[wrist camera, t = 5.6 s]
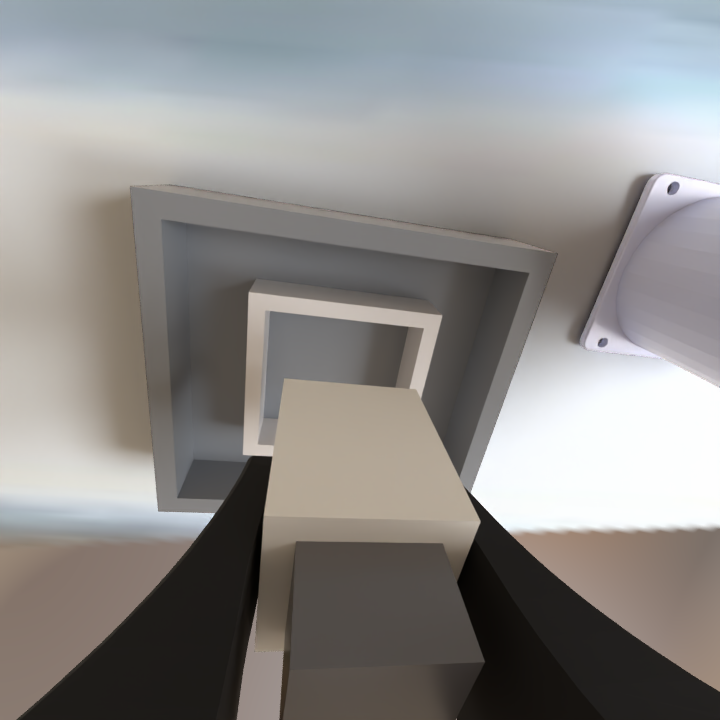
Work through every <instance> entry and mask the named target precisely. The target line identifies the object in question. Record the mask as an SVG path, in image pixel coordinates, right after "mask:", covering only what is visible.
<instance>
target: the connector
mask: <svg viewBox="0 0 720 720" xmlns="http://www.w3.org/2000/svg"><path fill="white" fill-rule="evenodd" d="M480 522H481V521H480V519H479V517H478V515H477V513H476V511H475V509H474V507H473V505H472V503H471V501H470V499H469V497H468V494H467V492H466V490H465V488H464V486H463V484H462V482H461V480H460V478H459V476H458V474H457V472H456V470H455V468H454V466H453V464H452V462H451V460H450V458H449V456H448V453H447V451H446V449H445V447H444V445H443V443H442V441H441V439H440V437H439V435H438V433H437V431H436V429H435V427H434V425H433V423H432V421H431V419H430V417H429V414H428V412H427V410H426V408H425V406H424V404H423V402H422V400H421V398H420V396H419V394H418V392H417V390H416V389H405V388H393V387H381V386H369V385H357V384H345V383H333V382H321V381H309V380H298V379H286V378H284V383H283V390H282V396H281V403H280V410H279V417H278V423H277V430H276V437H275V443H274V450H273V457H272V464H271V470H270V477H269V484H268V490H267V497H266V504H265V511H264V519H263V534H262V548H261V563H260V578H259V592H258V607H257V622H256V637H255V652H266V651H284V655H283V656H284V657H283V671H282V687H281V703H280V719H279V720H456V718H457V716H458V714H459V712H460V710H461V708H462V706H463V704H464V702H465V700H466V698H467V697H468V695H469V693H470V691H471V689H472V687H473V685H474V683H475V681H476V679H477V677H478V675H479V673H480V671H481V669H482V667H483V665H484V663H485V661H484V658H483V655H482V652H481V650H480V647H479V644H478V641H477V638H476V635H475V633H474V630H473V627H472V624H471V621H470V619H469V616H468V613H467V610H466V607H465V604H464V602H463V599H462V596H461V593H460V590H459V587H458V585H457V580H458V578H459V575H460V573H461V570H462V568H463V565H464V563H465V560H466V557H467V555H468V552H469V550H470V547H471V545H472V542H473V540H474V537H475V535H476V532H477V530H478V527H479V524H480Z"/></svg>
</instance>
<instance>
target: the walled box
mask: <svg viewBox="0 0 720 720" xmlns="http://www.w3.org/2000/svg"><path fill="white" fill-rule="evenodd" d="M130 191H131V202H132V214H133V225H134V237H135V249H136V260H137V272H138V283H139V295H140V306H141V318H142V329H143V341H144V352H145V364H146V376H147V387H148V399H149V410H150V422H151V433H152V445H153V456H154V468H155V479H156V491H157V503H158V511H161V512H197V513H216V512H217V510H218V509H219V507H220V506H221V505H222V503H223V502H224V500H225V499H226V497H227V496H228V494H229V493H230V491H231V489H232V488H233V486H234V485H235V483H236V481H237V480H238V478H239V476H240V474H241V473H242V471H243V469H244V467H245V465H246V463H247V460H248V459H249V458H250V457H251V456H253V455H255V456H273V450H274V443H275V437H276V430H277V423H278V417H279V410H280V403H281V396H282V390H283V383H284V378H286V379H298V380H309V381H321V382H333V383H345V384H357V385H369V386H381V387H393V388H405V389H416V390H417V392H418V394H419V396H420V398H421V400H422V402H423V404H424V406H425V408H426V410H427V412H428V414H429V417H430V419H431V421H432V423H433V425H434V427H435V429H436V431H437V433H438V435H439V437H440V439H441V441H442V443H443V445H444V447H445V449H446V451H447V453H448V456H449V458H450V460H451V462H452V464H453V466H454V468H455V470H456V472H457V474H458V476H459V478H460V480H461V482H462V484H463V486H464V487H465V488H466V489H467V490H468V491H469V492H470V493H471V490H472V487H473V484H474V482H475V479H476V476H477V473H478V471H479V468H480V465H481V462H482V460H483V457H484V454H485V451H486V449H487V446H488V443H489V440H490V438H491V435H492V432H493V429H494V427H495V424H496V421H497V419H498V416H499V413H500V410H501V408H502V405H503V402H504V399H505V397H506V394H507V391H508V388H509V386H510V383H511V380H512V377H513V375H514V372H515V369H516V366H517V364H518V361H519V358H520V355H521V353H522V350H523V347H524V345H525V342H526V339H527V336H528V334H529V331H530V328H531V325H532V323H533V320H534V317H535V314H536V312H537V309H538V306H539V303H540V301H541V298H542V295H543V292H544V290H545V287H546V284H547V282H548V279H549V276H550V273H551V271H552V268H553V265H554V262H555V260H556V257H557V254H558V253H554V252H551V251H548V250H545V249H541V248H538V247H535V246H532V245H528V244H525V243H522V242H518V241H515V240H512V239H506V238H500V237H494V236H487V235H481V234H475V233H469V232H463V231H456V230H450V229H444V228H438V227H431V226H425V225H419V224H413V223H406V222H400V221H394V220H388V219H382V218H375V217H369V216H363V215H357V214H350V213H344V212H338V211H332V210H326V209H319V208H313V207H307V206H301V205H294V204H288V203H282V202H276V201H269V200H263V199H257V198H251V197H245V196H238V195H232V194H226V193H220V192H213V191H207V190H201V189H195V188H189V187H182V186H176V185H149V186H130Z"/></svg>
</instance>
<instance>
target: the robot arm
mask: <svg viewBox="0 0 720 720" xmlns="http://www.w3.org/2000/svg"><path fill="white" fill-rule="evenodd" d="M670 184H671V185H672V186H671V190H670V191H669V193H667V189H668V186H669V185H670ZM600 339H602V341H601V342H600V343H599V344H598V342H599V340H600ZM580 345H581V346H582V347H583V348H585V349H586V350H589V351H598V352H607V353H616V354H625V355H634V356H643V357H652V358H660V359H665V360H667V361H669V362H671V363H673V364H675V365H677V366H679V367H680V368H682V369H684V370H686V371H688V372H690V373H692V374H694V375H696V376H698V377H700V378H702V379H704V380H706V381H708V382H710V383H712V384H713V385H715V386H717V387H719V388H720V184H718V183H713V182H708V181H704V180H699V179H694V178H689V177H684V176H680V175H675V174H670V173H658V174H655V175H653V176H652V177H651V178H650V179H649V180H648V182H647V184H646V186H645V188H644V190H643V193H642V195H641V197H640V200H639V202H638V204H637V207H636V209H635V211H634V214H633V216H632V218H631V221H630V223H629V226H628V228H627V230H626V233H625V235H624V237H623V240H622V242H621V244H620V247H619V249H618V251H617V254H616V256H615V258H614V261H613V263H612V265H611V268H610V270H609V272H608V275H607V277H606V279H605V282H604V284H603V286H602V289H601V291H600V293H599V296H598V298H597V300H596V303H595V305H594V307H593V310H592V312H591V314H590V317H589V319H588V321H587V324H586V326H585V328H584V331H583V333H582V335H581V338H580ZM272 457H273V456H255V455H253V456H251V457H250V458H249V459H248V460H247V463H246V465H245V467H244V469H243V471H242V473H241V474H240V476H239V478H238V480H237V481H236V483H235V485H234V486H233V488H232V489H231V491H230V493H229V494H228V496H227V497H226V499H225V500H224V502H223V503H222V505H221V506H220V507H219V509H218V510H217V512H216V513H215V515H214V516H213V518H212V519H211V520H210V522H209V523H208V524H207V526H206V527H205V528H204V530H203V531H202V532H201V533H200V535H199V536H198V537H197V539H196V540H195V541H194V543H193V544H192V545H191V546H190V548H189V549H188V550H187V552H186V553H185V554H184V555H183V556H182V558H181V559H180V560H179V561H178V562H177V563H176V565H175V566H174V567H173V568H172V569H171V570H170V572H169V573H168V574H167V575H166V576H165V577H164V578H163V579H162V581H161V582H160V583H159V584H158V585H157V586H156V588H155V589H154V590H153V591H152V592H151V593H150V594H149V595H148V596H147V597H146V598H145V599H144V600H143V601H142V602H141V603H140V604H139V605H138V606H137V607H136V608H135V609H134V611H133V612H132V613H131V614H130V615H129V616H128V617H127V618H126V619H125V620H124V621H123V622H122V623H121V624H120V625H119V626H118V627H117V628H116V629H115V630H114V631H113V632H112V633H111V634H110V635H109V636H108V637H107V638H106V639H105V640H104V641H103V642H102V643H101V644H100V645H99V646H97V648H95V649H94V650H93V651H92V652H91V653H90V654H89V655H88V656H87V657H86V658H85V659H84V660H82V661H81V662H80V663H79V664H78V665H77V666H76V667H75V668H74V669H73V670H71V671H70V672H69V673H68V674H67V675H66V676H65V677H64V678H63V679H62V680H61V681H60V682H59V683H57V684H56V685H55V686H54V687H53V688H52V689H51V690H50V691H49V692H48V693H47V694H45V695H44V696H43V697H42V698H41V699H40V700H39V701H37V702H36V703H35V704H34V705H33V706H32V707H31V708H30V709H28V710H27V711H26V712H25V713H24V714H23V715H21V716H20V717H19V718H18V719H17V720H236V719H237V712H238V705H239V697H240V690H241V683H242V675H243V668H244V663H245V657H246V652H247V646H248V641H249V636H250V632H251V628H252V623H253V618H254V613H255V609H256V604H257V599H258V592H259V578H260V563H261V548H262V534H263V519H264V511H265V504H266V497H267V490H268V484H269V477H270V470H271V464H272ZM464 488H465V487H464ZM465 490H466V492H467V494H468V497H469V499H470V501H471V503H472V505H473V507H474V509H475V511H476V513H477V515H478V517H479V519H480V521H481V522H480V524H479V527H478V530H477V532H476V535H475V537H474V540H473V542H472V545H471V547H470V550H469V552H468V555H467V557H466V560H465V563H464V565H463V568H462V570H461V573H460V575H459V578H458V580H457V585H458V587H459V590H460V593H461V596H462V599H463V602H464V604H465V607H466V610H467V613H468V616H469V619H470V621H471V624H472V627H473V630H474V633H475V635H476V638H477V641H478V644H479V647H480V650H481V652H482V655H483V658H484V661H485V663H484V665H483V667H482V669H481V671H480V673H479V675H478V677H477V679H476V681H475V683H474V685H473V687H472V689H471V691H470V693H469V695H468V697H467V698H466V700H465V702H464V704H463V706H462V708H461V710H460V712H459V714H458V716H457V720H720V692H719V691H717V690H716V689H714V688H713V687H711V686H709V685H707V684H706V683H704V682H702V681H701V680H699V679H698V678H696V677H694V676H693V675H691V674H690V673H688V672H686V671H685V670H684V669H682V668H681V667H679V666H678V665H676V664H675V663H673V662H671V661H670V660H669V659H667V658H665V657H664V656H662V655H661V654H659V653H658V652H656V651H655V650H653V649H652V648H650V647H649V646H648V645H646V644H645V643H643V642H642V641H640V640H639V639H637V638H636V637H634V636H633V635H632V634H630V633H629V632H627V631H626V630H625V629H623V628H622V627H621V626H619V625H618V624H617V623H615V622H614V621H612V620H611V619H610V618H608V617H607V616H606V615H604V614H603V613H602V612H600V611H599V610H598V609H596V608H595V607H594V606H592V605H591V604H590V603H588V602H587V601H586V600H585V599H583V598H582V597H581V596H579V595H578V594H577V593H576V592H575V591H573V590H572V589H571V588H570V587H569V586H567V585H566V584H565V583H564V582H563V581H561V580H560V579H559V578H558V577H557V576H555V575H554V574H553V573H552V572H550V571H549V570H548V569H547V568H546V567H545V566H544V565H543V564H541V563H540V562H539V561H538V560H537V559H536V558H535V557H534V556H532V555H531V554H530V553H529V552H528V551H527V550H526V549H525V548H524V547H523V546H522V545H521V544H520V543H519V542H518V541H517V540H516V539H514V538H513V537H512V536H511V535H510V534H509V533H508V532H507V531H506V530H505V529H504V528H503V527H502V526H501V525H500V524H499V523H498V522H497V521H496V520H495V519H494V518H493V516H492V515H491V514H490V513H489V512H488V511H487V510H486V509H485V508H484V507H483V506H482V505H481V504H480V503H479V502H478V501H477V500H476V499H475V498H474V496H473V495H472V494H471V493H470V492H469V491H468V490H467V489H466V488H465Z"/></svg>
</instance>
